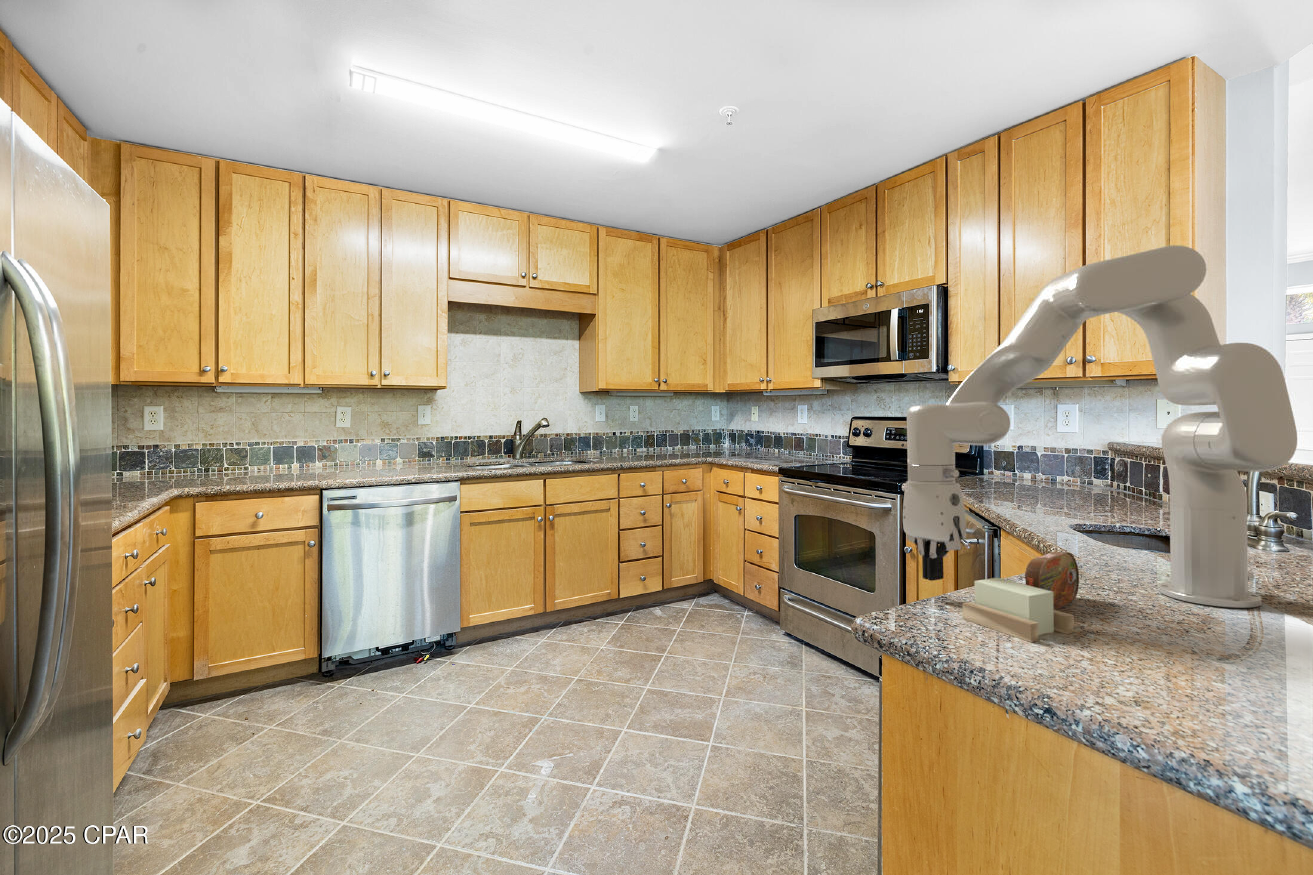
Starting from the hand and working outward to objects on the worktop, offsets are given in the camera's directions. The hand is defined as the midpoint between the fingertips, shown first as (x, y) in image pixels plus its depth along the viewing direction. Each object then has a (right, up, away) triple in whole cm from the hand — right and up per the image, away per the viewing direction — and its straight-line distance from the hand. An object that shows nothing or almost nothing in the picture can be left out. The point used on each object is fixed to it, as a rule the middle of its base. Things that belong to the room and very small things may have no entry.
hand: (933, 578), depth 101 cm
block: (+6, -4, -14) cm, 15 cm away
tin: (+18, -4, -4) cm, 19 cm away
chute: (+6, -4, -14) cm, 16 cm away
